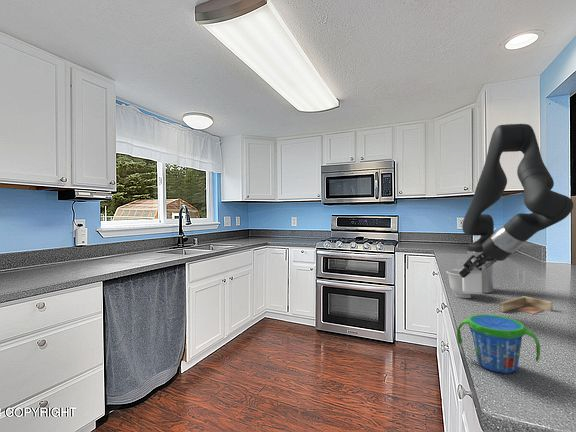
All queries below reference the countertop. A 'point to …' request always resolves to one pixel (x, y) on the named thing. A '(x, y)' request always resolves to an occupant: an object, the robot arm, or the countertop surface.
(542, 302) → the tan l-shaped piece
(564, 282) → the countertop surface
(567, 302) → the countertop surface
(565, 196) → the robot arm
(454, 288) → the teacup
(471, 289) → the eye dropper bottle
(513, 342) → the snack cup
